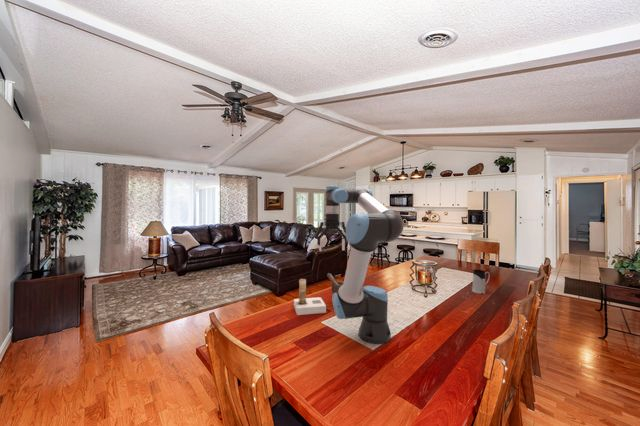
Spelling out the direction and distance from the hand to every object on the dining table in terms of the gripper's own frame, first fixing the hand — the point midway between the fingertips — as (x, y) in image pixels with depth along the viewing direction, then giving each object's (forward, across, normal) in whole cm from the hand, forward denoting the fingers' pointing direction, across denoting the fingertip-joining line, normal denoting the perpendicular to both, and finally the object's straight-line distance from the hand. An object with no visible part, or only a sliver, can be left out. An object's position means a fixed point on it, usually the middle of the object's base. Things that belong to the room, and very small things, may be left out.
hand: (331, 250), depth 150 cm
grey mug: (+37, -118, -14) cm, 124 cm away
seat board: (+37, +11, -9) cm, 39 cm away
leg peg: (+37, +15, -9) cm, 41 cm away
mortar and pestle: (+37, -7, -13) cm, 40 cm away
